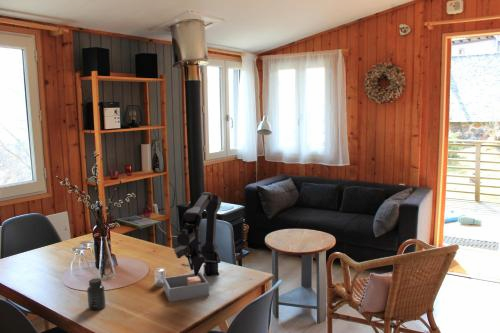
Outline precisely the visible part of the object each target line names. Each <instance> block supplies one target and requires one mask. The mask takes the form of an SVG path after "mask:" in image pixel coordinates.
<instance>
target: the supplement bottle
mask: <svg viewBox="0 0 500 333" xmlns="http://www.w3.org/2000/svg"><path fill="white" fill-rule="evenodd" d="M86 291H87V292H86V294H87V306H88V309H89V310H90V311H91V312H93V311H95V312H97V311H101V310H103V309H104V308H105V307H106V296H105V295H106V294H105V293H106V292H105V286H104V285H103V284H102V278H98V277H97V278H96V277H95V278H91V279H90V280H89V281H88V287H87V290H86Z"/></svg>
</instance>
